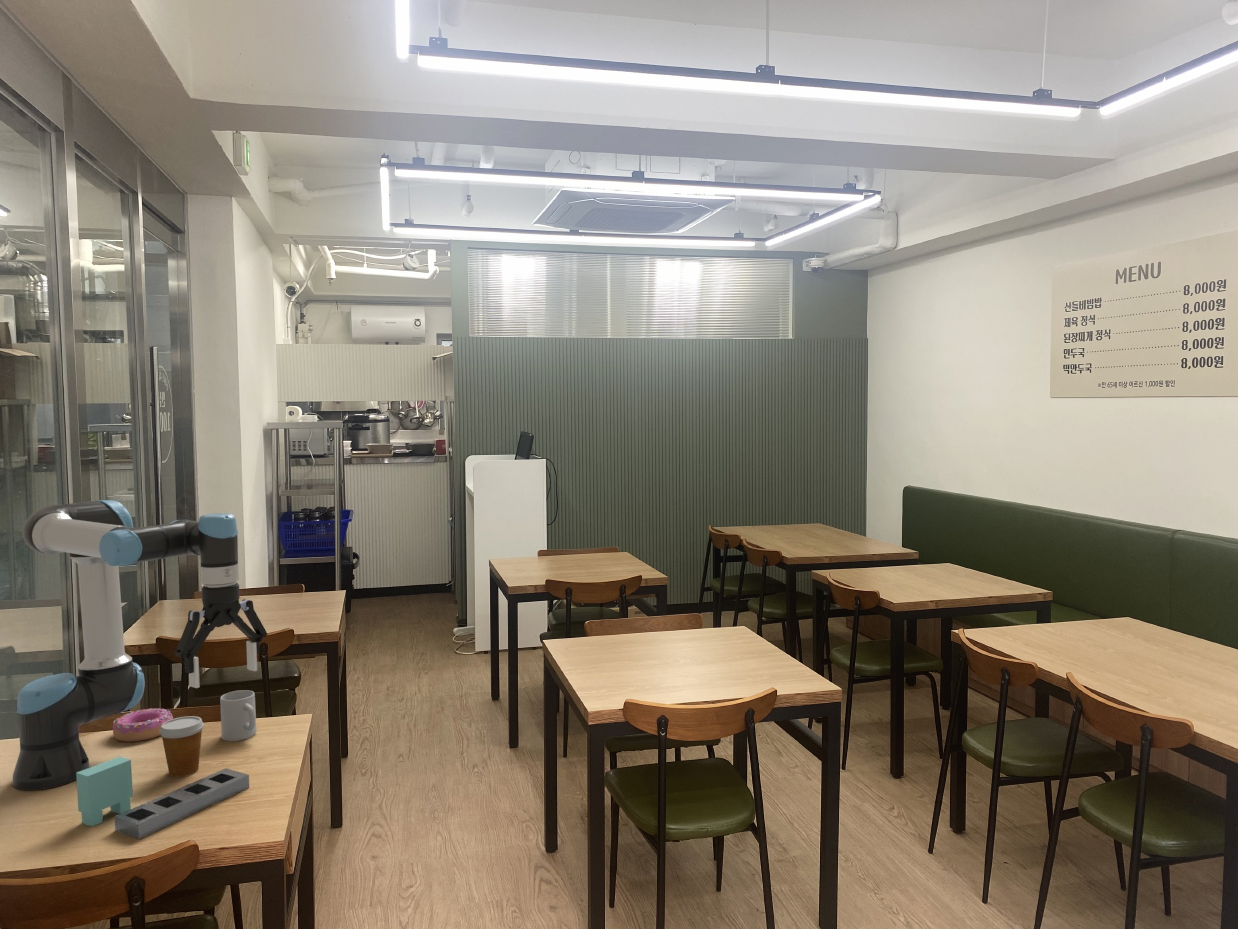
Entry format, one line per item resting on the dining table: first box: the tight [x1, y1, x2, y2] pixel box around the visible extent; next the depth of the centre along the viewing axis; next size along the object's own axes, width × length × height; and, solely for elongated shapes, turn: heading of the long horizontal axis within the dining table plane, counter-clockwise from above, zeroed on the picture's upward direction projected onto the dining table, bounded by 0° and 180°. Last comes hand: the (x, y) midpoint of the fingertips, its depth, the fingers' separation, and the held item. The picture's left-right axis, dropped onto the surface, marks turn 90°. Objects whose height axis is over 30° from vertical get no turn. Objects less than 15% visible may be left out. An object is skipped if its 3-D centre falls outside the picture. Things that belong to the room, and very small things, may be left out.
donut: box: [112, 707, 174, 743], centre depth 225 cm, size 14×14×5 cm
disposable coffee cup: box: [159, 715, 205, 778], centre depth 200 cm, size 10×10×12 cm
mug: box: [219, 689, 257, 742], centre depth 221 cm, size 12×8×11 cm
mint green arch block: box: [76, 756, 134, 827], centre depth 178 cm, size 4×9×11 cm, turn 152°
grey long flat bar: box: [114, 767, 250, 840], centre depth 181 cm, size 8×26×3 cm, turn 152°
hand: (224, 678), depth 185 cm, fingers open, 13 cm apart
